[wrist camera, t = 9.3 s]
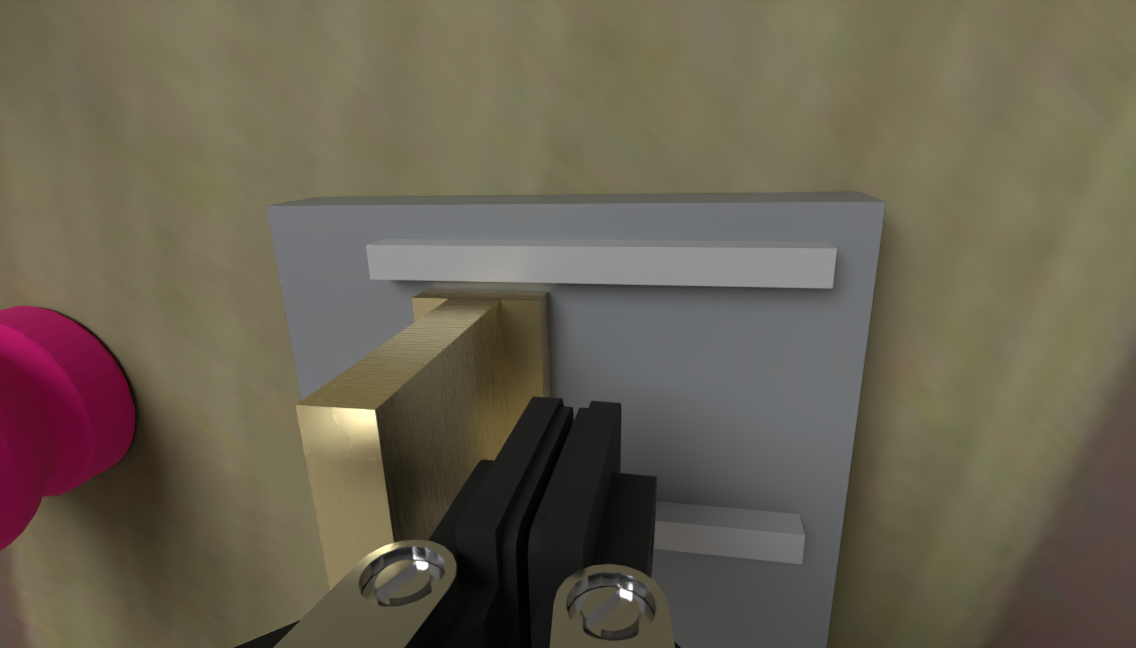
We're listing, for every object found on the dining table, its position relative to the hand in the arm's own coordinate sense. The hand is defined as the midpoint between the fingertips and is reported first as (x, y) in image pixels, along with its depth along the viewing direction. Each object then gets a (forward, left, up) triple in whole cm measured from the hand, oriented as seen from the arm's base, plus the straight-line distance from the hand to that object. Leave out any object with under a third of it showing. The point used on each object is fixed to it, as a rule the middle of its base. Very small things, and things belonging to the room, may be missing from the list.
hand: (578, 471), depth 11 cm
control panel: (-9, +1, -5) cm, 11 cm away
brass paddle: (0, +3, -3) cm, 4 cm away
